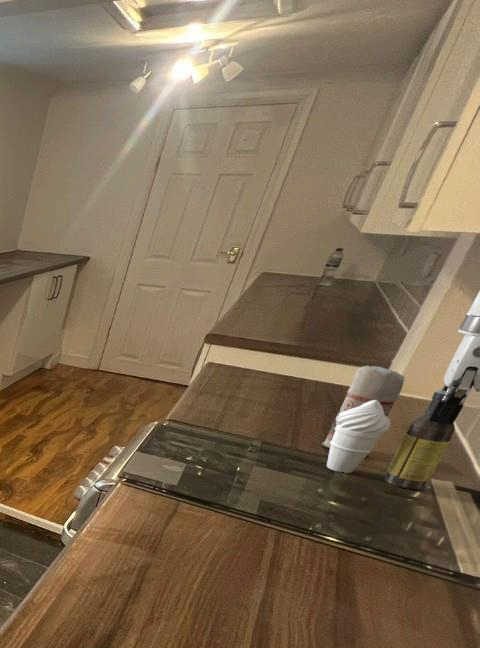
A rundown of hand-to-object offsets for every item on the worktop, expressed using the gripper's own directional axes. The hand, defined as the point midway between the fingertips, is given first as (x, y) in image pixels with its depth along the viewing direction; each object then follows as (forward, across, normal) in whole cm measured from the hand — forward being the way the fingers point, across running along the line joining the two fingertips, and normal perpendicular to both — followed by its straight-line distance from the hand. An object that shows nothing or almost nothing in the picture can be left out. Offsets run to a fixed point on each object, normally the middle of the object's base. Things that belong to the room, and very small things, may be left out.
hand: (440, 417), depth 115 cm
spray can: (+15, +16, +10) cm, 24 cm away
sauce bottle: (+15, 0, 0) cm, 15 cm away
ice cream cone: (+15, 0, +10) cm, 18 cm away
